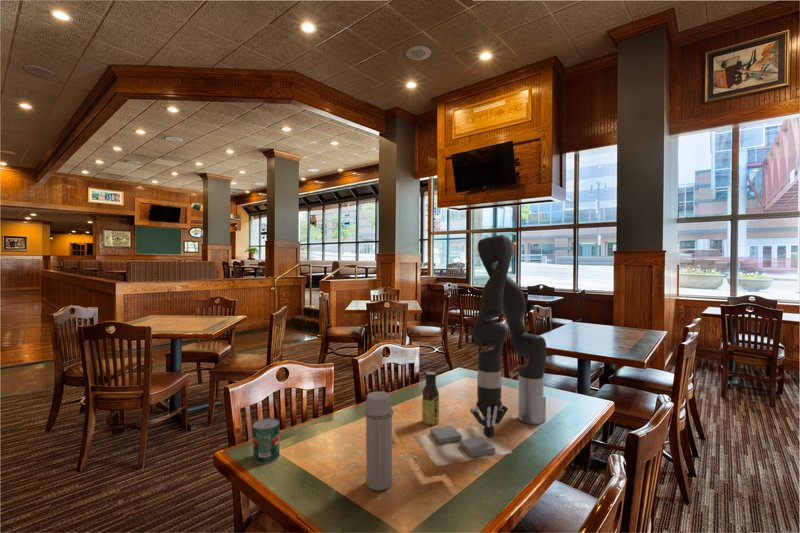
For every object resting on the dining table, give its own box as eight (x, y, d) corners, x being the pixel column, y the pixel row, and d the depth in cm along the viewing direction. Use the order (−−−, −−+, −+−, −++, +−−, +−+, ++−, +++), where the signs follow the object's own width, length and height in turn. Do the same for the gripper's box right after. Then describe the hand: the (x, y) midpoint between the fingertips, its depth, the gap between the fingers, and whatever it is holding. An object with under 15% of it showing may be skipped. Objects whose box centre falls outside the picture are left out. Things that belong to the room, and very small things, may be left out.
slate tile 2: (481, 436, 127) (460, 440, 125) (494, 448, 120) (472, 452, 117) (481, 442, 127) (460, 445, 125) (494, 453, 120) (472, 458, 117)
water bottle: (365, 477, 110) (364, 391, 109) (392, 476, 110) (392, 390, 110) (365, 497, 100) (364, 403, 100) (394, 496, 101) (394, 402, 100)
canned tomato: (250, 456, 122) (249, 422, 121) (274, 448, 126) (274, 415, 126) (257, 467, 115) (257, 431, 115) (283, 458, 120) (283, 424, 120)
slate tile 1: (451, 425, 136) (430, 428, 134) (461, 435, 128) (439, 438, 126) (451, 430, 136) (430, 433, 134) (461, 440, 128) (439, 444, 126)
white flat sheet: (480, 430, 140) (480, 426, 140) (512, 457, 121) (512, 452, 121) (413, 440, 132) (413, 436, 132) (436, 471, 113) (436, 466, 113)
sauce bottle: (438, 430, 139) (438, 376, 139) (421, 429, 141) (421, 375, 140) (439, 422, 146) (439, 371, 146) (423, 421, 147) (423, 370, 147)
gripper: (500, 378, 129) (500, 429, 129) (465, 382, 125) (465, 434, 125) (513, 385, 122) (513, 439, 122) (476, 389, 117) (476, 445, 118)
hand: (488, 436), depth 123 cm, fingers closed
